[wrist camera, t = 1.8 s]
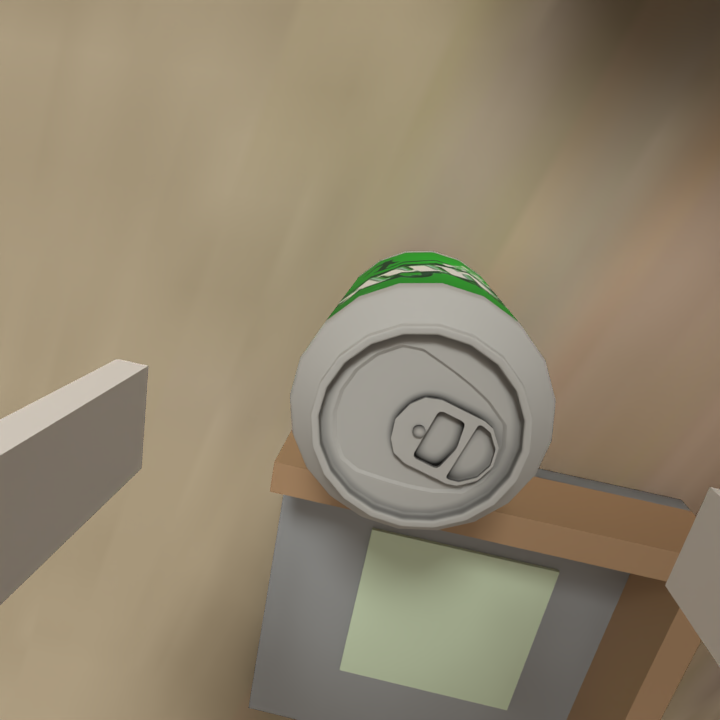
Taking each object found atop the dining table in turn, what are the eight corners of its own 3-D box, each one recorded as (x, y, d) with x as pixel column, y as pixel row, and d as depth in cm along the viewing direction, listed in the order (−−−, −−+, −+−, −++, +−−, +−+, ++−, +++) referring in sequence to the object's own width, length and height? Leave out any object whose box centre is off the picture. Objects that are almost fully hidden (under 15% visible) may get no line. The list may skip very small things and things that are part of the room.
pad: (372, 527, 27) (372, 529, 27) (558, 569, 27) (559, 572, 27) (339, 667, 31) (339, 670, 30) (506, 707, 30) (506, 710, 30)
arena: (299, 415, 27) (274, 461, 22) (681, 499, 26) (739, 566, 21) (253, 693, 33) (226, 775, 28) (560, 768, 32) (585, 866, 28)
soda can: (448, 423, 26) (473, 594, 15) (316, 357, 26) (238, 481, 15) (527, 293, 24) (628, 378, 13) (383, 219, 24) (352, 237, 12)
